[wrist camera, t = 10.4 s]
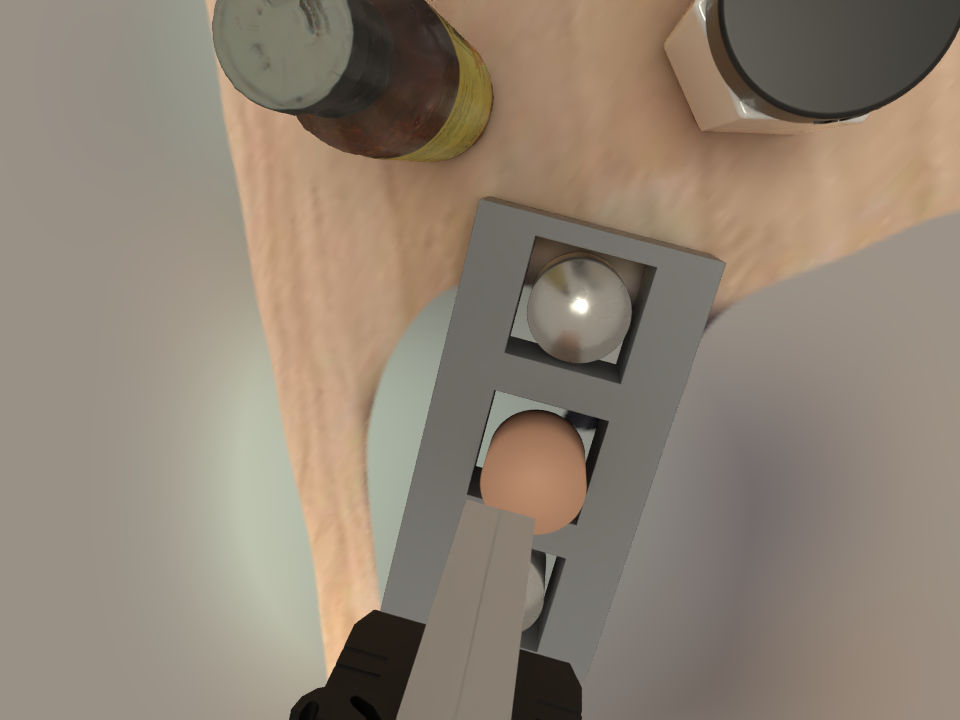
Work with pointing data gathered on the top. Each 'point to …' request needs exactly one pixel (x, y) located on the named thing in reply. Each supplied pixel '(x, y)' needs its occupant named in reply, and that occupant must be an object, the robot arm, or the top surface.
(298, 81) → the sauce bottle
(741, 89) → the jar
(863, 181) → the top surface
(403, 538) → the knob mount
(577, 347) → the knob
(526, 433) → the middle knob
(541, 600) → the knob
